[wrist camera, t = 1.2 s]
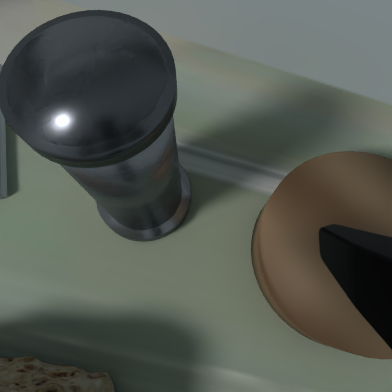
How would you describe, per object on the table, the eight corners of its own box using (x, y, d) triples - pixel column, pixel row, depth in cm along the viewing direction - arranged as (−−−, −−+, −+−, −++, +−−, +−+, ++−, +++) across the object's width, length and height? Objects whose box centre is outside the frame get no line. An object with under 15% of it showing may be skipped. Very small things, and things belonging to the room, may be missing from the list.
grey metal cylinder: (139, 261, 22) (64, 206, 9) (81, 194, 23) (-48, 72, 11) (209, 198, 23) (224, 78, 11) (150, 139, 25) (104, -22, 12)
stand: (353, 393, 19) (392, 415, 15) (215, 250, 22) (219, 239, 18) (458, 257, 22) (513, 248, 18) (323, 147, 24) (346, 118, 21)
